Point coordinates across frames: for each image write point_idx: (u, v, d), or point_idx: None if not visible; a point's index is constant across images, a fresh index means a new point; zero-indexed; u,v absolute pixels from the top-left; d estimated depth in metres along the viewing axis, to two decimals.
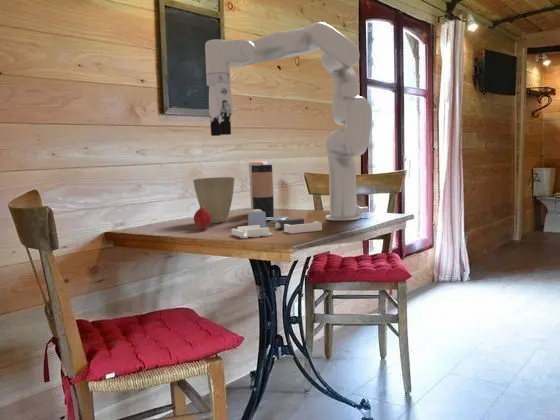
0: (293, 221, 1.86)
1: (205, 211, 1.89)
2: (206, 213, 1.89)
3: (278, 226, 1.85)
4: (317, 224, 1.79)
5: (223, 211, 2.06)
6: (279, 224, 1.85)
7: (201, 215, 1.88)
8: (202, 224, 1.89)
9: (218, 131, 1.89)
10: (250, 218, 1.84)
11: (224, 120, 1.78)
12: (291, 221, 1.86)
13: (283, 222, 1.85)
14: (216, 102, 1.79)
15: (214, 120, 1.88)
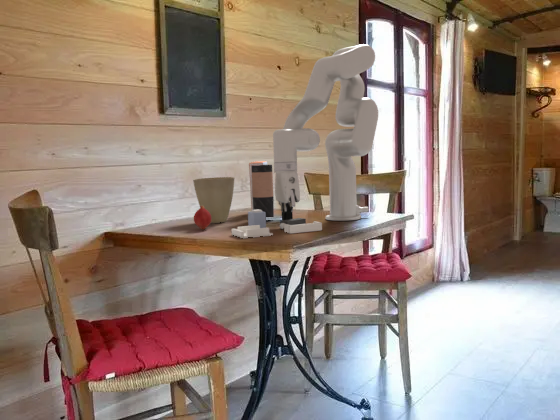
0: (297, 221, 1.86)
1: (205, 211, 1.89)
2: (206, 213, 1.89)
3: None
4: (317, 224, 1.79)
5: (223, 211, 2.06)
6: None
7: (201, 215, 1.88)
8: (202, 224, 1.89)
9: None
10: (250, 218, 1.84)
11: (286, 212, 1.88)
12: (295, 221, 1.85)
13: (288, 222, 1.84)
14: (284, 190, 1.84)
15: None
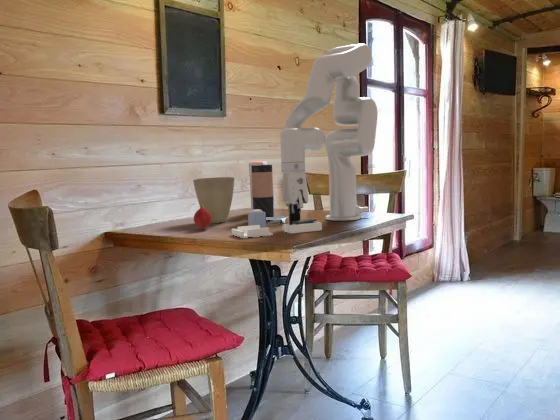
0: (308, 222, 1.82)
1: (205, 211, 1.89)
2: (206, 213, 1.89)
3: None
4: (317, 224, 1.79)
5: (223, 211, 2.06)
6: None
7: (201, 215, 1.88)
8: (202, 224, 1.89)
9: None
10: (250, 218, 1.84)
11: (294, 213, 1.83)
12: (306, 222, 1.81)
13: (300, 223, 1.79)
14: (292, 191, 1.79)
15: (292, 209, 1.85)
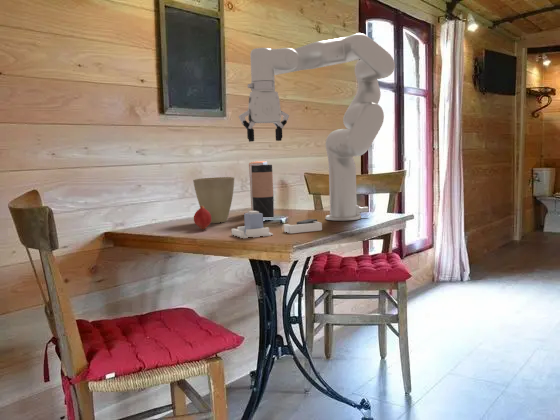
0: (311, 222, 1.82)
1: (205, 211, 1.89)
2: (206, 213, 1.89)
3: None
4: (317, 224, 1.79)
5: (223, 211, 2.06)
6: None
7: (201, 215, 1.88)
8: (202, 224, 1.89)
9: (278, 136, 1.90)
10: (246, 220, 1.74)
11: (246, 128, 1.87)
12: (310, 222, 1.82)
13: (306, 223, 1.79)
14: None
15: (278, 125, 1.91)
